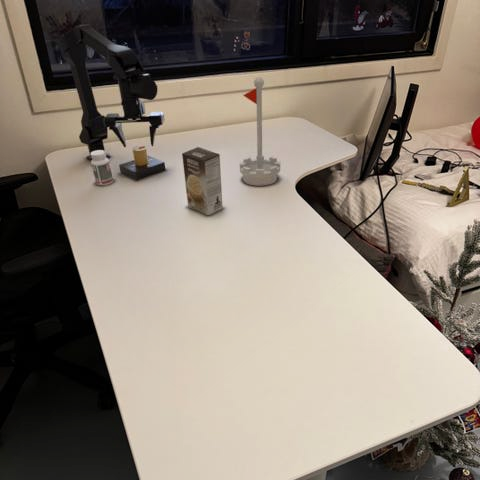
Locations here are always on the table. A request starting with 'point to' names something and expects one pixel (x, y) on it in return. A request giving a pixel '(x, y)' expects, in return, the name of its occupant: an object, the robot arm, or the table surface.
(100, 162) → the pill bottle
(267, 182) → the flag stand
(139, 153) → the handle
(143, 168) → the black flat block
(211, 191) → the coffee box
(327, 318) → the table surface
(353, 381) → the table surface
